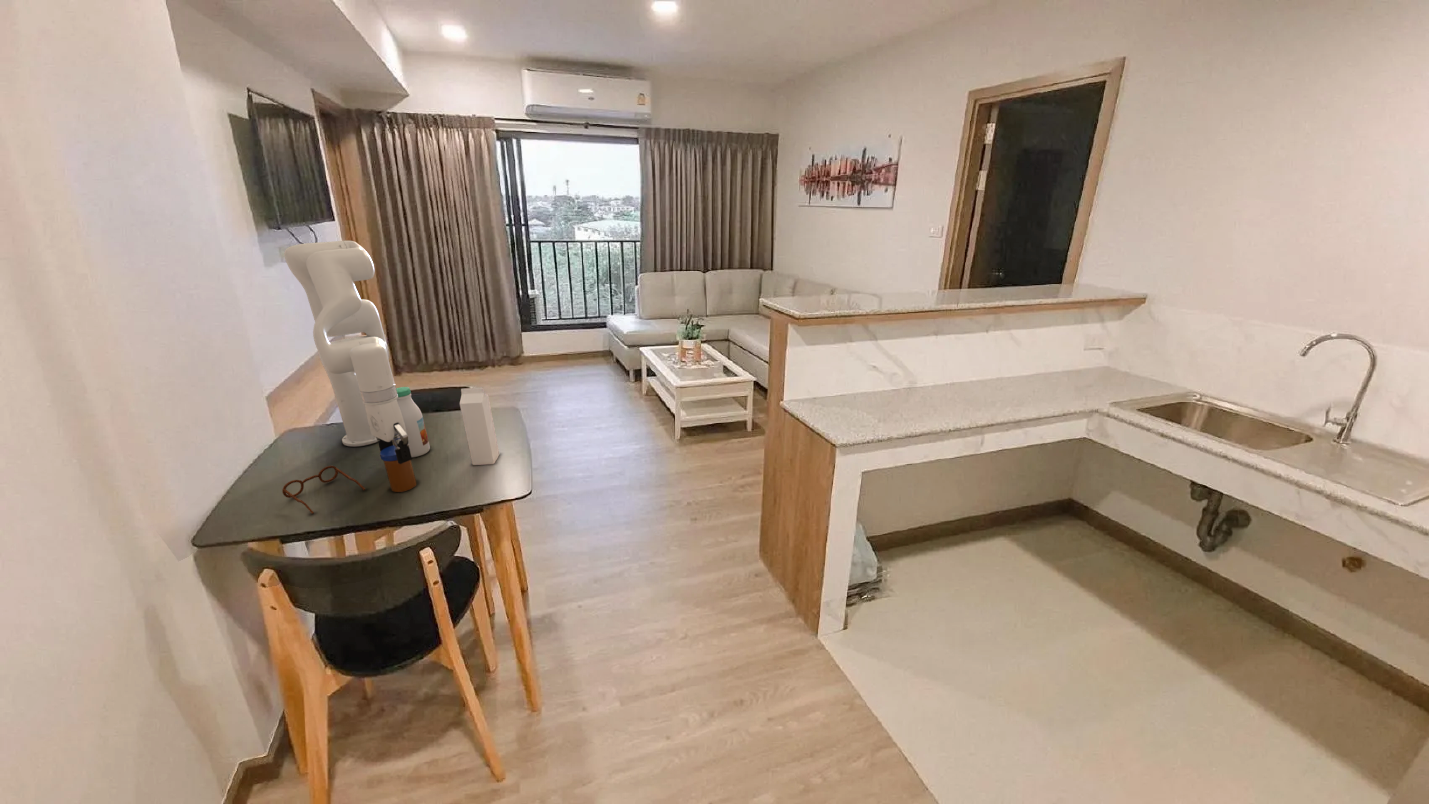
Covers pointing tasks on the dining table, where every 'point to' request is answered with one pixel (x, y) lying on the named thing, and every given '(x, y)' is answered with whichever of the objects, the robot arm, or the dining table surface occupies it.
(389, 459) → the lid
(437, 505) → the dining table surface
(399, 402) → the milk bottle
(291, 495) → the glasses
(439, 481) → the dining table surface
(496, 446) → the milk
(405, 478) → the jar
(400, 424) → the robot arm
